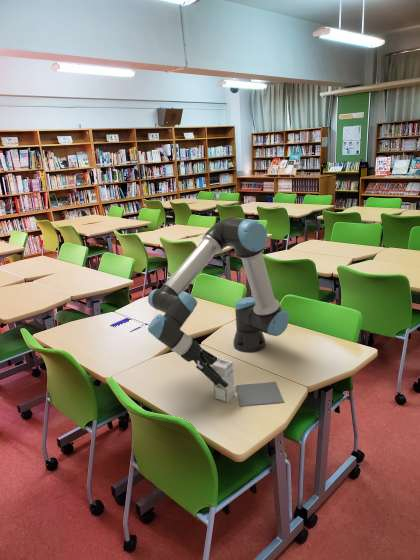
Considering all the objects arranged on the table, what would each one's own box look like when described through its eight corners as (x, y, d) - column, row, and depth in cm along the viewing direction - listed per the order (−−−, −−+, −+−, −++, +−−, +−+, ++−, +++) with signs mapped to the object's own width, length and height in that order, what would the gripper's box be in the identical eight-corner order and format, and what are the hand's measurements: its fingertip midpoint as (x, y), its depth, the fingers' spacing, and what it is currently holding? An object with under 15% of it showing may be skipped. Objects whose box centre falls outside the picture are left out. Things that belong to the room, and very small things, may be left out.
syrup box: (234, 395, 158) (233, 360, 154) (227, 403, 154) (225, 367, 150) (221, 391, 162) (219, 357, 157) (213, 399, 157) (211, 364, 153)
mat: (235, 386, 165) (235, 385, 164) (275, 382, 165) (275, 381, 165) (240, 406, 151) (240, 405, 151) (284, 402, 152) (284, 401, 152)
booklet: (141, 335, 218) (140, 334, 217) (110, 326, 233) (109, 325, 232) (157, 327, 227) (157, 326, 227) (127, 318, 242) (126, 317, 242)
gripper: (179, 341, 162) (222, 374, 168) (179, 370, 141) (228, 406, 146) (192, 327, 161) (234, 361, 166) (193, 354, 139) (242, 391, 145)
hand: (231, 382), depth 156 cm, fingers open, 10 cm apart
